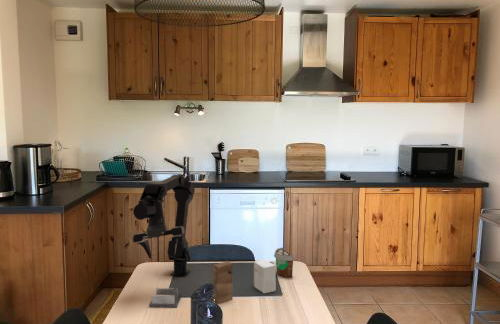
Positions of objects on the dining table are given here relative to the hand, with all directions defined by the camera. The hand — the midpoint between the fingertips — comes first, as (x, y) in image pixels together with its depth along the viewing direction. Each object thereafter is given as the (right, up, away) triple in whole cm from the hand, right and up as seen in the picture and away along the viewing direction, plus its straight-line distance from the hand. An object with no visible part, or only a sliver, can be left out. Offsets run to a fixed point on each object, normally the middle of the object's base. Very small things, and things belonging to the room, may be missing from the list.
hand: (162, 256), depth 156 cm
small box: (+39, -15, +8) cm, 43 cm away
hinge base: (+2, -16, -5) cm, 17 cm away
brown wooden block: (+23, -16, -2) cm, 28 cm away
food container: (+47, -13, +24) cm, 54 cm away
